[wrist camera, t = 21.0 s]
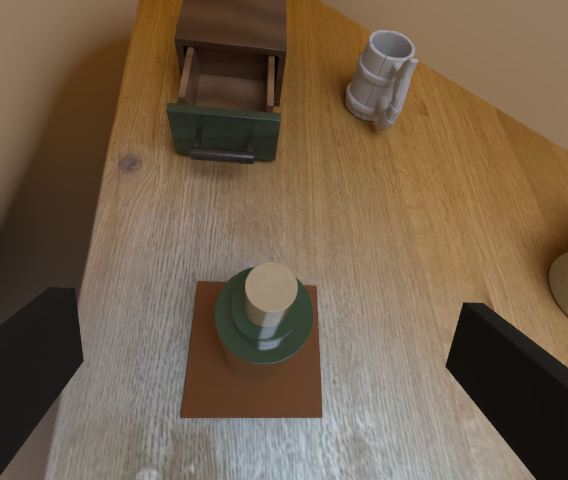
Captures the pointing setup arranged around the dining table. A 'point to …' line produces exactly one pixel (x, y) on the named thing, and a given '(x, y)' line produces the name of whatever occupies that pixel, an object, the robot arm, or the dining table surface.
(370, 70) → the mug
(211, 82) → the drawer
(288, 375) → the cork mat
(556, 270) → the sugar bowl
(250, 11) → the cabinet
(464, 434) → the dining table surface
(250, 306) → the oil bottle
